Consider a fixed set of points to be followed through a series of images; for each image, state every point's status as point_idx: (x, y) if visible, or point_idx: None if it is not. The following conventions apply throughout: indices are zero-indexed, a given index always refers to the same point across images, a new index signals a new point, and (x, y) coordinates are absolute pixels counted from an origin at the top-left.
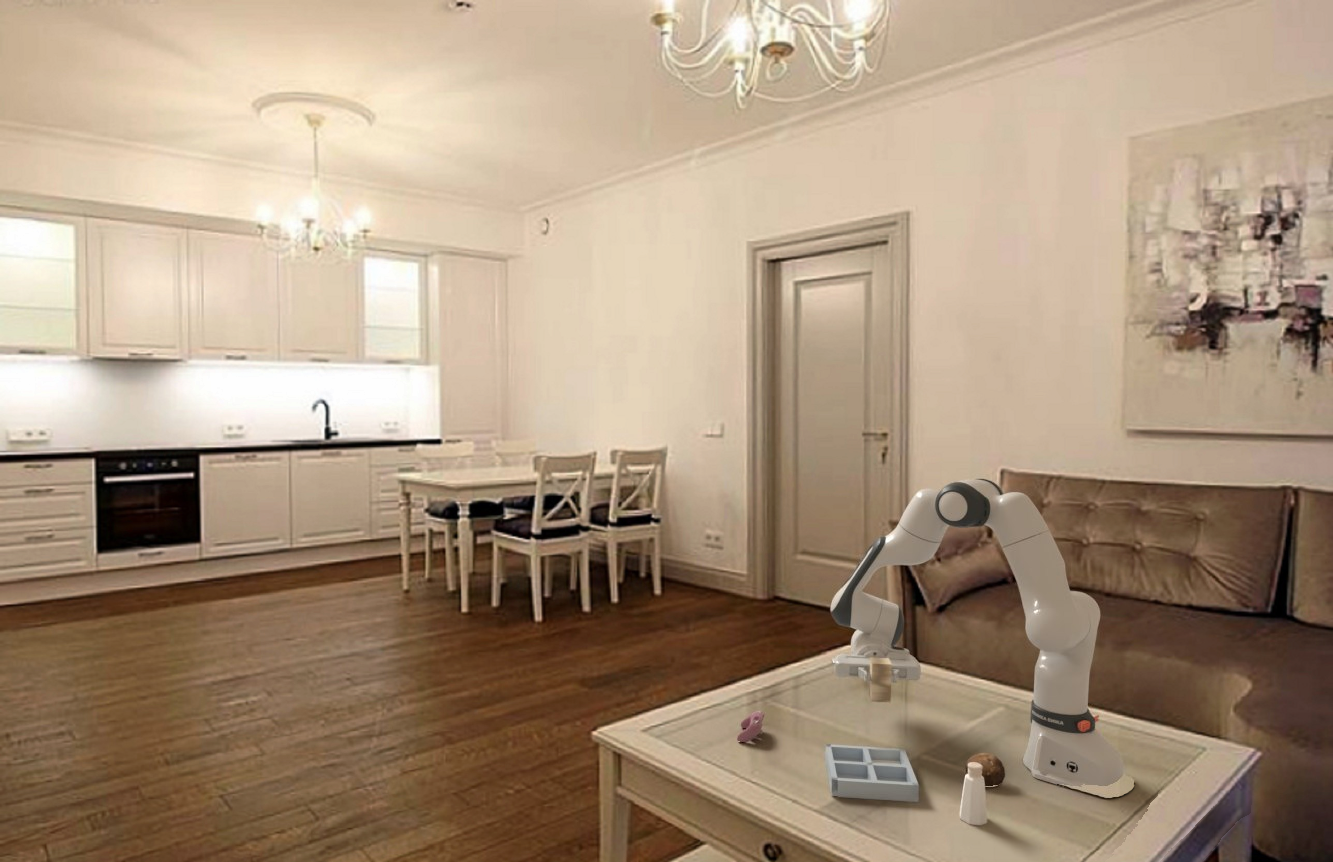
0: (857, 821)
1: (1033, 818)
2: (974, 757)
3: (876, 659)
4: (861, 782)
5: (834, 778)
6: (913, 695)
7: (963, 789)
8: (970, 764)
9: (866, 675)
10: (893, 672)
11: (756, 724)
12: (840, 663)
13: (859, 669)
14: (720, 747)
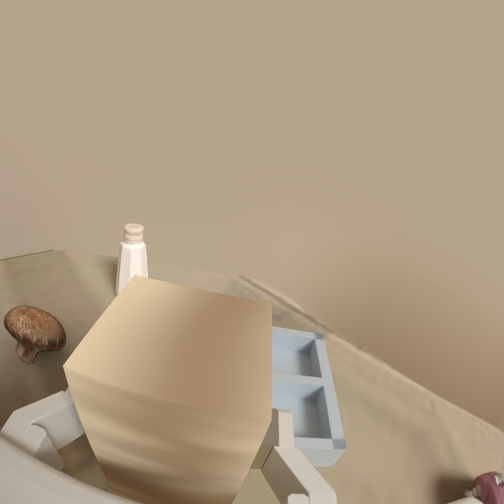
0: (281, 311)
1: (62, 282)
2: (40, 323)
3: (212, 362)
4: (277, 327)
5: (318, 337)
6: None
7: (143, 266)
8: (140, 227)
9: (280, 410)
10: (72, 401)
11: (491, 473)
12: (466, 498)
13: (327, 486)
14: (497, 460)
